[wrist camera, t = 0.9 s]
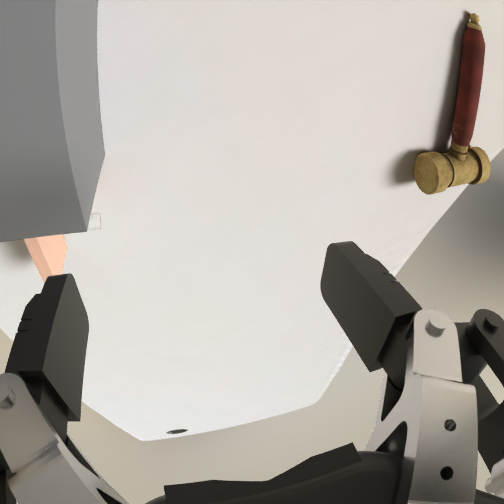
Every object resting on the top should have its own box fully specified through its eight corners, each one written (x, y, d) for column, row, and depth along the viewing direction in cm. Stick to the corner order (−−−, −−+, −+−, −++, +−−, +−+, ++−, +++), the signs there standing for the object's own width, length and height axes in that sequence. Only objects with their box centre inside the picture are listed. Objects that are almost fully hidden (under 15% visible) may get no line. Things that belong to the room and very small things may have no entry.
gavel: (459, 6, 15) (516, 28, 16) (424, 0, 18) (485, 18, 19) (432, 203, 30) (485, 189, 30) (409, 180, 33) (463, 170, 34)
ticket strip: (7, 2, 10) (-29, 9, 7) (22, -3, 10) (-12, 2, 7) (56, 248, 26) (48, 289, 23) (67, 247, 27) (59, 288, 23)
